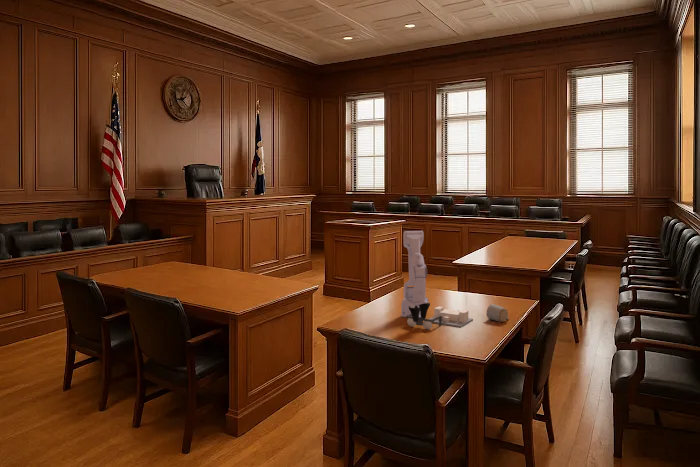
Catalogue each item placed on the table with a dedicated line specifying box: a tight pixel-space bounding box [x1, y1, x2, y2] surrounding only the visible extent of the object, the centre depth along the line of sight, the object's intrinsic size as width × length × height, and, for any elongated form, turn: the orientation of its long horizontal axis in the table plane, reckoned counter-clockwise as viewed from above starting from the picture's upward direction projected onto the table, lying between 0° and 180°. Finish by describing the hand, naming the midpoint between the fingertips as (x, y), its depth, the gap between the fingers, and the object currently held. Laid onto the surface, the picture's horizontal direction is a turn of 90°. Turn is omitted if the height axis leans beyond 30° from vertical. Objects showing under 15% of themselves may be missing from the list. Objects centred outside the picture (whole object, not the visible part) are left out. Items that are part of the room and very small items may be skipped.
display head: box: [429, 305, 474, 329], centre depth 252 cm, size 15×18×6 cm
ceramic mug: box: [486, 303, 509, 323], centre depth 253 cm, size 11×8×8 cm
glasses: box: [405, 314, 443, 330], centre depth 245 cm, size 10×14×5 cm
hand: (419, 319), depth 241 cm, fingers open, 7 cm apart
